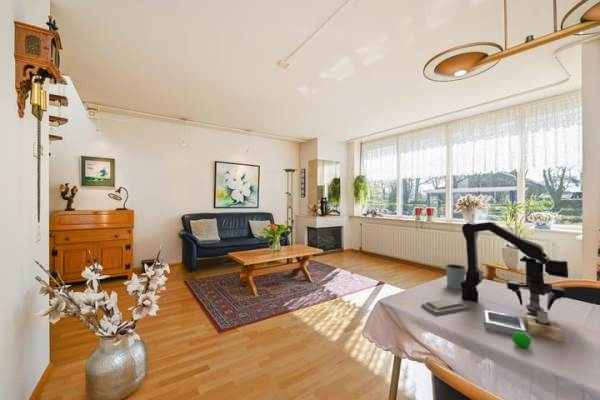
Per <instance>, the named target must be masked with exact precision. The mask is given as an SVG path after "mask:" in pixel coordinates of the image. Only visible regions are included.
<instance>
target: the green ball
mask: <svg viewBox="0 0 600 400" xmlns="http://www.w3.org/2000/svg"><path fill="white" fill-rule="evenodd" d="M511 340H512V342H513V343H514V344H515V345H516V346H518V347H519V348H522V349H527V348H530V346H531V343H532V339H531V338H530V337H529V336H528V335H527V333H526V334H524V333H522V332H516V333H514V334H513V335H512V339H511Z"/></svg>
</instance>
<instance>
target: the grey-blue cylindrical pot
mask: <svg viewBox="0 0 600 400" xmlns="http://www.w3.org/2000/svg"><path fill="white" fill-rule="evenodd" d="M445 270H446V271H445V274H446V284H447V287H448V288H450V289H452V290H462V287H461V285H460V283H462V282H463V281H465V278H466V272H467V268H466V267H465V266H464V265H460V264H451V263H450V264H446V265H445Z"/></svg>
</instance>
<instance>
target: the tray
mask: <svg viewBox="0 0 600 400" xmlns="http://www.w3.org/2000/svg"><path fill="white" fill-rule="evenodd" d="M484 323H485V330H487V331H493V332H496V333H501V334H505V335H509V336H513V334H514V333H516V332H522V333H524V334H526V335H527V330H526V326H525V325H524V324H525V323H524V322H523V319H522V317H520V316H515V315H512V314H511V315H510V314H506V313H502V312H501V313H499V312H496V311H491V310H486V309H485V310H484Z"/></svg>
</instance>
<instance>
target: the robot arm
mask: <svg viewBox="0 0 600 400" xmlns="http://www.w3.org/2000/svg"><path fill="white" fill-rule="evenodd" d="M461 230H462V234H463V237H464V240H465V241H466V243H465V244H466V255H467V256H466V257H467V258H466V259H467V260H466V261H467V268H466V271H465V281H463V282H462V283H460V285H461V287H462V289H461V300H463V301H464V300H465V301H470V302H475V303H477V302H478V300H479V290H478V289H477V286H479V285H480V284H481V283H482V282H483V280H484V276H483V275H484V271H483V270H480V269H479V263H478V259H479V258H478V247H477V246H478V245H477V240H478V236H479V235H478V234H479V232H484V231H489V232H491V233H493V234H495V235H496V236H498V237H499V238H501V239H503V240H504V241H506V242H508V243H510V244H511V245H514V246H515V247H516V249H518V250H519V251H520V252H522V254H524V256H523V257H521V258H520V259H519V261H520V262H524V263H525V284H522V283H519V282H518V280H510V279H507V280H506V288H507V289H508V290H511V292H513V293H515V295H516V296H517V298H518V301H519V304H520V306H523V298H522V291H521V290H528V291H529V294H530V293H532V294H539V296H546V293H547V302H546V309H547V311H550V310H551V308H552V306H553V304H554V302H556V301H557V300H558V299H559V300H562V298H563V299H566V298H567V297H568V296H567V291H566V290H565V289H564V288H563V287H561V286H555V285H554V286H553V285H552V283H547V282H546V283H545V281H544V271H545V273H546V274H548V276H553V277H558V278H565V279H569V267H568V266H569V265H568V261H567V260H556V259H550V257H549V255H547V253H545V251H544V247H543V246H542V245H540V244H538V243H536V242H532V241H530V240H527V239H524V238H521V237H520V236H518V235H516V234H515V233H513V232H510V231H509V230H507V229H505V228H503V227H502V226H500V225H498V224H496V223H495V222H494V221H488V222H480V223H479V222H478V223H476V222H471V221H470V222H467V223H465V224H464V223H463V225H462V227H461Z"/></svg>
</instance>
